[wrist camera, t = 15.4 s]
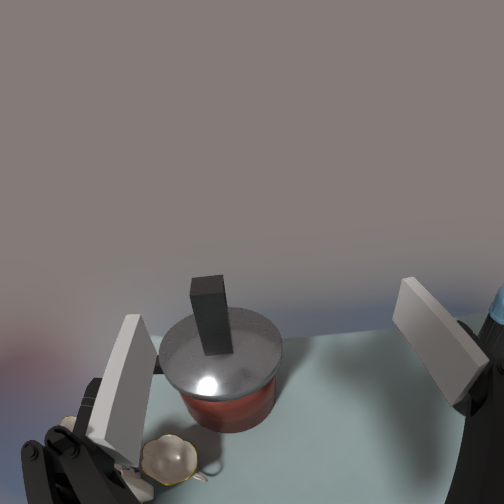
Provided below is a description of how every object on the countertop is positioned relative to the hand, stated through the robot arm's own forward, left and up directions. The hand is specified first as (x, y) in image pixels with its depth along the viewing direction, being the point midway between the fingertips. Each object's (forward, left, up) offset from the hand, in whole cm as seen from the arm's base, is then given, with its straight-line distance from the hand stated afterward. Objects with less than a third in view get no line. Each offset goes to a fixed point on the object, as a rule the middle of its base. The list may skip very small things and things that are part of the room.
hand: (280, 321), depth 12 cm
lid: (+5, -19, -21) cm, 28 cm away
